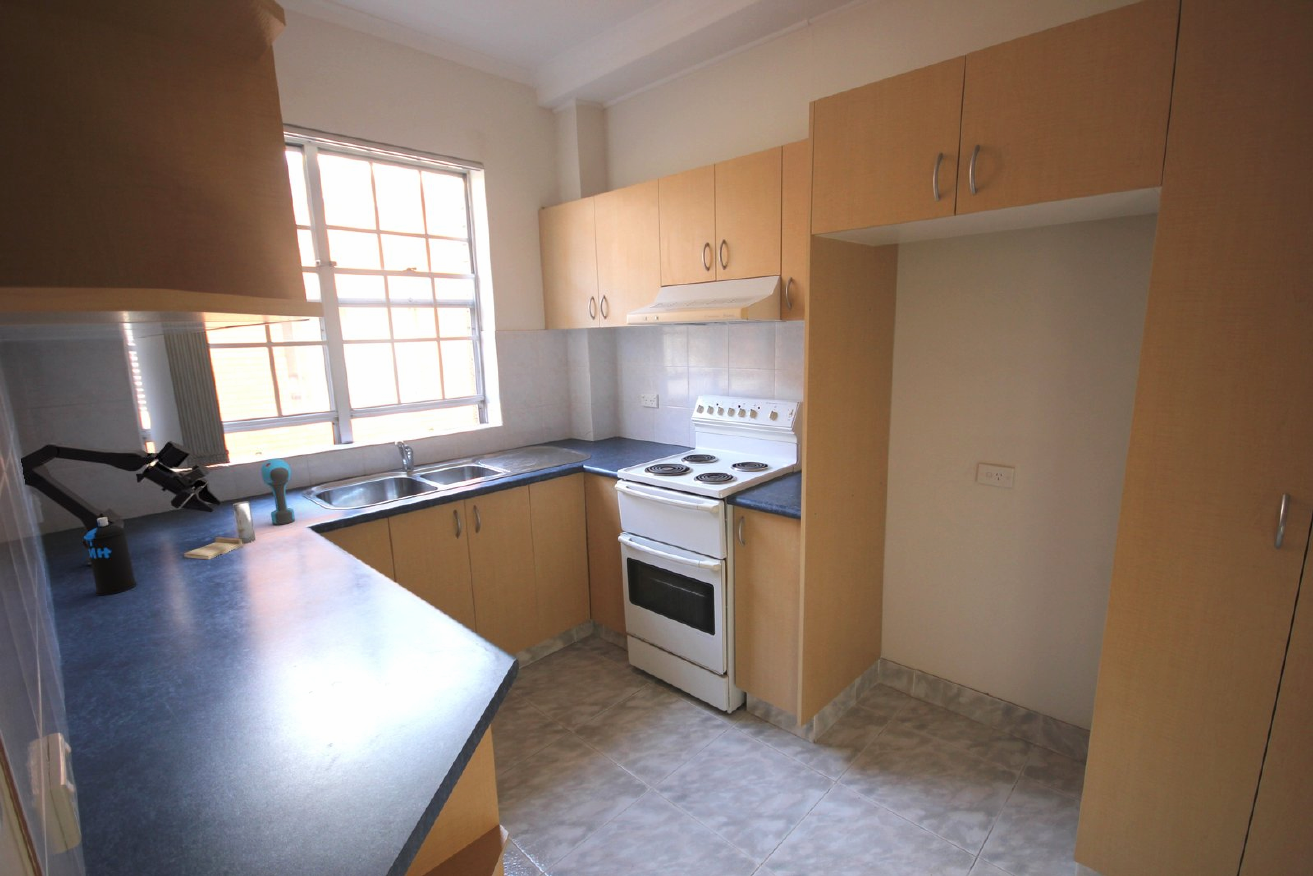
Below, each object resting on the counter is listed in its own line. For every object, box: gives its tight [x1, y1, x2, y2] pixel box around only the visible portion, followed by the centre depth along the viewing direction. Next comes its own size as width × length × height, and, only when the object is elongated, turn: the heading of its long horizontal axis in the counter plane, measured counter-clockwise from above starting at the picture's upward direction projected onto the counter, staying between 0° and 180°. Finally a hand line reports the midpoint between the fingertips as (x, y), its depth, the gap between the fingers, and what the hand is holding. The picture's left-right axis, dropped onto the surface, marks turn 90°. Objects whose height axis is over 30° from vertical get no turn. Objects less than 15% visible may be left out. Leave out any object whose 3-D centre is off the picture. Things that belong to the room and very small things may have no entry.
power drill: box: [260, 458, 296, 526], centre depth 214 cm, size 28×9×23 cm, turn 40°
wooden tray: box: [183, 536, 244, 560], centre depth 184 cm, size 11×10×3 cm
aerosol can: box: [83, 517, 138, 596], centre depth 156 cm, size 8×8×20 cm
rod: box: [232, 500, 256, 545], centre depth 192 cm, size 4×4×13 cm
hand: (216, 507), depth 188 cm, fingers open, 9 cm apart
